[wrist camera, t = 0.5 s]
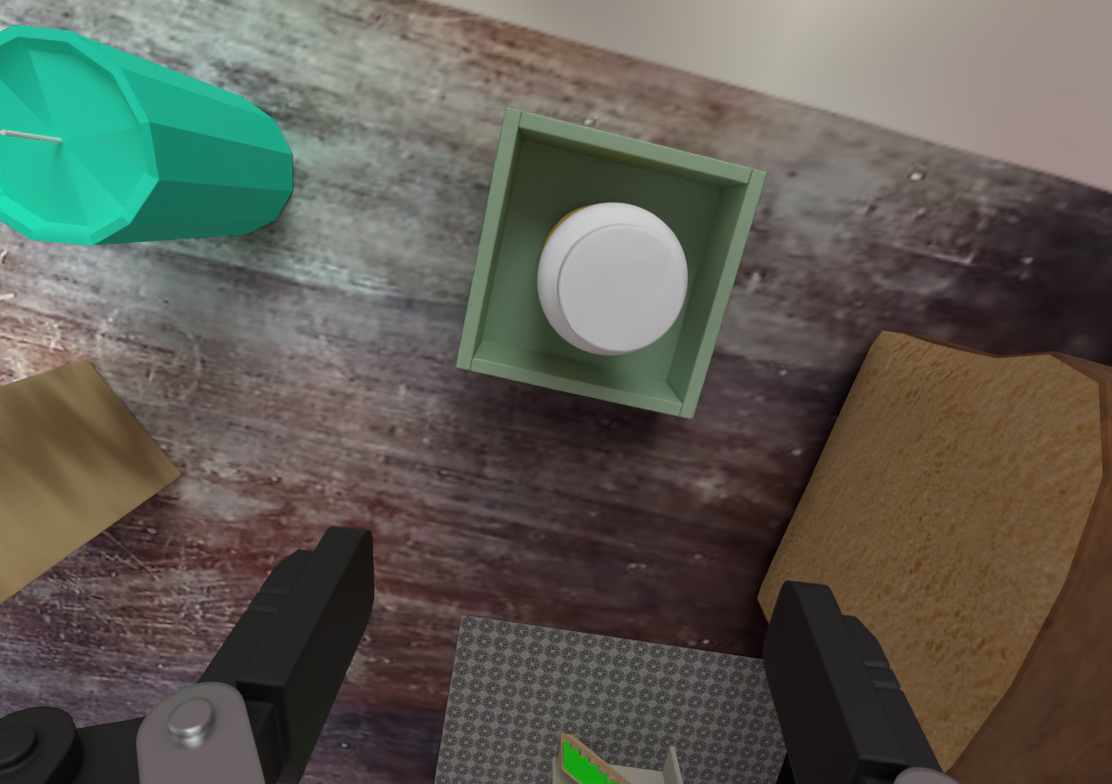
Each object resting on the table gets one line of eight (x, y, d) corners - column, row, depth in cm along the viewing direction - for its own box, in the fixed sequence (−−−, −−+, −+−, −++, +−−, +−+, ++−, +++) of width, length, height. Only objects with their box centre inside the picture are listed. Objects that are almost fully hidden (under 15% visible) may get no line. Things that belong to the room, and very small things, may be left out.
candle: (144, 205, 29) (-129, 200, 17) (173, 68, 27) (-105, -39, 16) (275, 255, 29) (97, 282, 18) (310, 124, 28) (141, 61, 16)
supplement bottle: (521, 230, 29) (508, 239, 19) (634, 185, 28) (677, 172, 19) (563, 340, 30) (570, 398, 21) (672, 299, 30) (729, 340, 20)
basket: (468, 346, 31) (455, 367, 26) (512, 122, 28) (505, 106, 24) (672, 391, 31) (692, 420, 27) (734, 178, 29) (768, 172, 24)
